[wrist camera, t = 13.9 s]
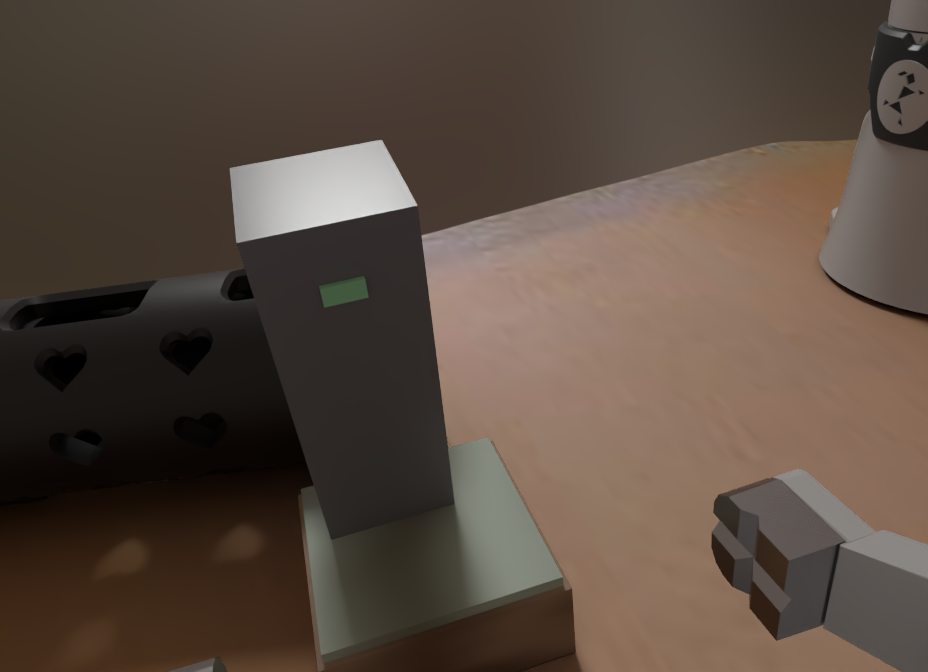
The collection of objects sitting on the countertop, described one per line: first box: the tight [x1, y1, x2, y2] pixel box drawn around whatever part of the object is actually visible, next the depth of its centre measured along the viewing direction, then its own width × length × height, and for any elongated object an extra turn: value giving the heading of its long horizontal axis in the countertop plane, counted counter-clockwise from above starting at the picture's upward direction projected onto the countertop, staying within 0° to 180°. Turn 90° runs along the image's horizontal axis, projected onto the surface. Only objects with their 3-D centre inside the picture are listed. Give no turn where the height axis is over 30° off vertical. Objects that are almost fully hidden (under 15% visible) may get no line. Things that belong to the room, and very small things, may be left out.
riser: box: [298, 437, 576, 672], centre depth 25 cm, size 8×8×4 cm
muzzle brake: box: [0, 268, 306, 506], centre depth 32 cm, size 10×28×10 cm, turn 94°
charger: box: [230, 140, 455, 540], centre depth 23 cm, size 4×5×12 cm
